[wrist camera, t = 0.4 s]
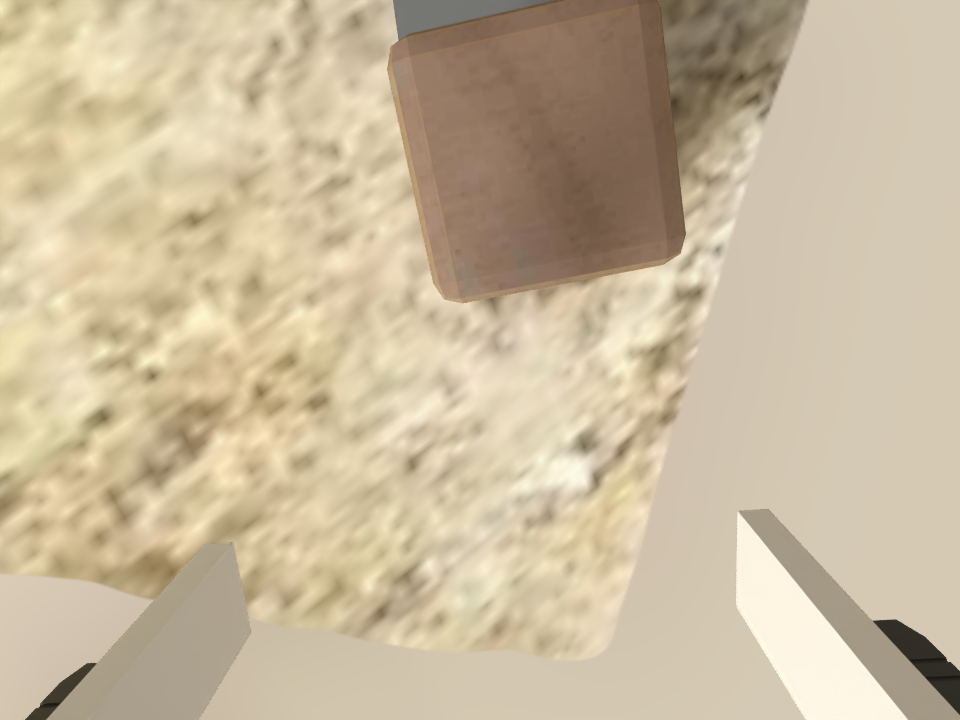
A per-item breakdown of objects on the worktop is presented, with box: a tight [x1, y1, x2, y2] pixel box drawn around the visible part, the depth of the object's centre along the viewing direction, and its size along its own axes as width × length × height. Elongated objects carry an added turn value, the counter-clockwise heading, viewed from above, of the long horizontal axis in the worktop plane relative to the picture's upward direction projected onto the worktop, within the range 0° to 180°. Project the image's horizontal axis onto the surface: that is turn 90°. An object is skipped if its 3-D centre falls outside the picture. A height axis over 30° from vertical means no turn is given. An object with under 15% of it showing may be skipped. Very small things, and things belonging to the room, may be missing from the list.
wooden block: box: [387, 0, 686, 303], centre depth 31 cm, size 10×10×20 cm
